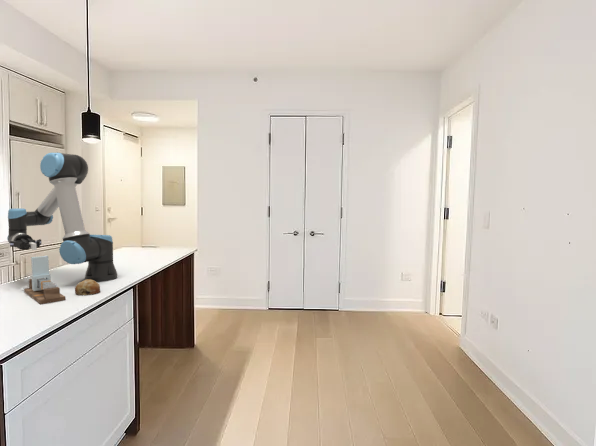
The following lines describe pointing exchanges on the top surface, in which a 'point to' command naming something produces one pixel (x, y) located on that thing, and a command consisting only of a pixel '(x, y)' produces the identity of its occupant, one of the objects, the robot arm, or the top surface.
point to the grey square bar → (45, 283)
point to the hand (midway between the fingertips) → (34, 246)
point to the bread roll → (87, 287)
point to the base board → (44, 294)
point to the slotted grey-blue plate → (39, 270)
